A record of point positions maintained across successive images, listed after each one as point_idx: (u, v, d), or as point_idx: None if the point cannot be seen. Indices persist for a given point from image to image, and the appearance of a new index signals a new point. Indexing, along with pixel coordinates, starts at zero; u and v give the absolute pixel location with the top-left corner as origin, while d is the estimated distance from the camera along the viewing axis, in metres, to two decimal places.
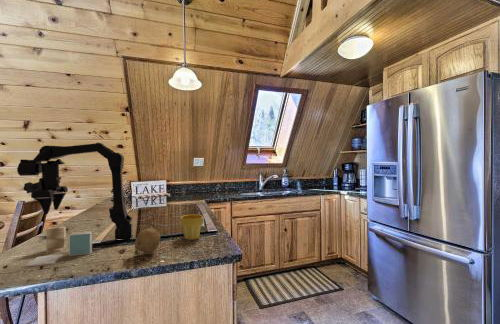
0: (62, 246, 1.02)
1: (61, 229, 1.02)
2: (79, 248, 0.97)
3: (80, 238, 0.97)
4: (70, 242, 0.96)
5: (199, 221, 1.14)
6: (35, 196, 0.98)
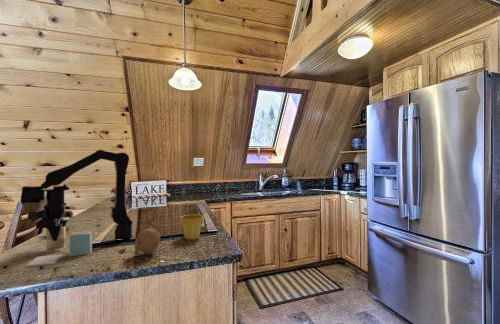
0: (62, 246, 1.02)
1: (61, 229, 1.02)
2: (79, 248, 0.97)
3: (80, 238, 0.97)
4: (70, 242, 0.96)
5: (199, 221, 1.14)
6: (40, 226, 0.93)
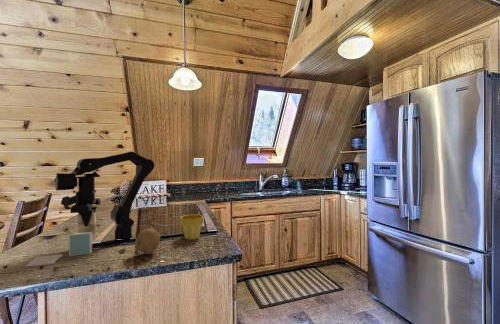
0: (93, 231, 1.05)
1: (92, 215, 1.05)
2: (79, 248, 0.97)
3: (80, 238, 0.97)
4: (70, 242, 0.96)
5: (199, 221, 1.14)
6: (74, 211, 0.96)
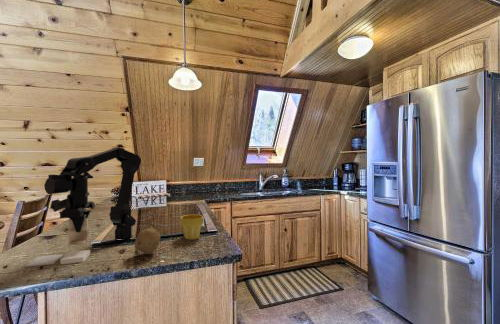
0: (85, 238, 0.96)
1: (84, 220, 0.96)
2: None
3: None
4: None
5: (199, 221, 1.14)
6: (64, 216, 0.87)
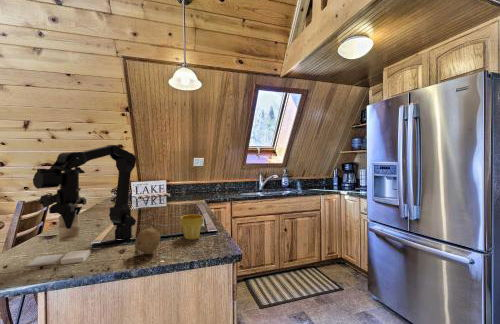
0: (76, 235, 0.93)
1: (75, 217, 0.93)
2: None
3: None
4: None
5: (199, 221, 1.14)
6: (54, 211, 0.84)
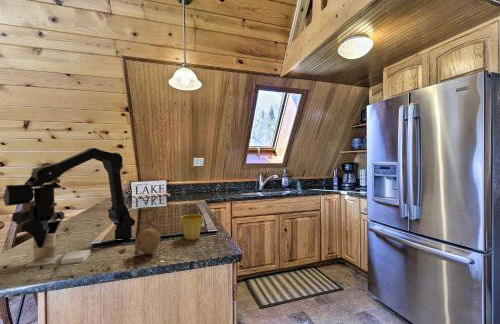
0: (51, 255, 0.91)
1: (50, 236, 0.91)
2: None
3: None
4: None
5: (199, 221, 1.14)
6: (25, 229, 0.81)
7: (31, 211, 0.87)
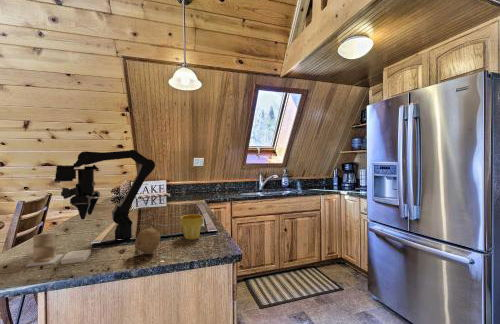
0: (51, 255, 0.91)
1: (50, 236, 0.91)
2: None
3: None
4: None
5: (199, 221, 1.14)
6: (74, 202, 0.98)
7: (76, 188, 1.04)
